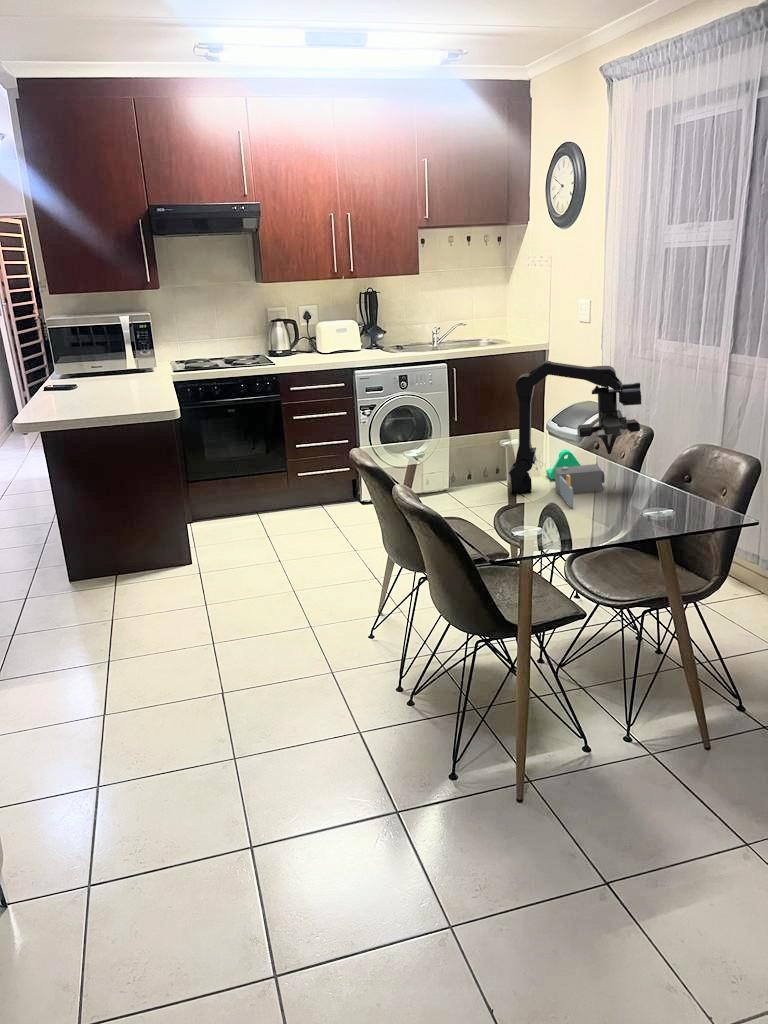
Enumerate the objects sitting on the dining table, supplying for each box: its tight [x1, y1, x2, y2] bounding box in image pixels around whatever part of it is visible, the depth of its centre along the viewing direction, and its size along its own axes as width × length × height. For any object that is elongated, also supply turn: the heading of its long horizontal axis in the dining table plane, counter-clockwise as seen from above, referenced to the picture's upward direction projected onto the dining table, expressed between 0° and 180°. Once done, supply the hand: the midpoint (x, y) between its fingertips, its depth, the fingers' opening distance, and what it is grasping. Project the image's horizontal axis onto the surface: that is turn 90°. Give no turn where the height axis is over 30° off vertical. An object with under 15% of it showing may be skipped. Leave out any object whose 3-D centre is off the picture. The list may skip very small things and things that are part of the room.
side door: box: [558, 475, 574, 508], centre depth 240 cm, size 14×1×10 cm, turn 2°
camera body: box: [554, 463, 606, 494], centre depth 250 cm, size 15×8×8 cm, turn 86°
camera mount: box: [545, 449, 581, 480], centre depth 264 cm, size 12×8×10 cm, turn 91°
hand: (609, 453), depth 243 cm, fingers closed
